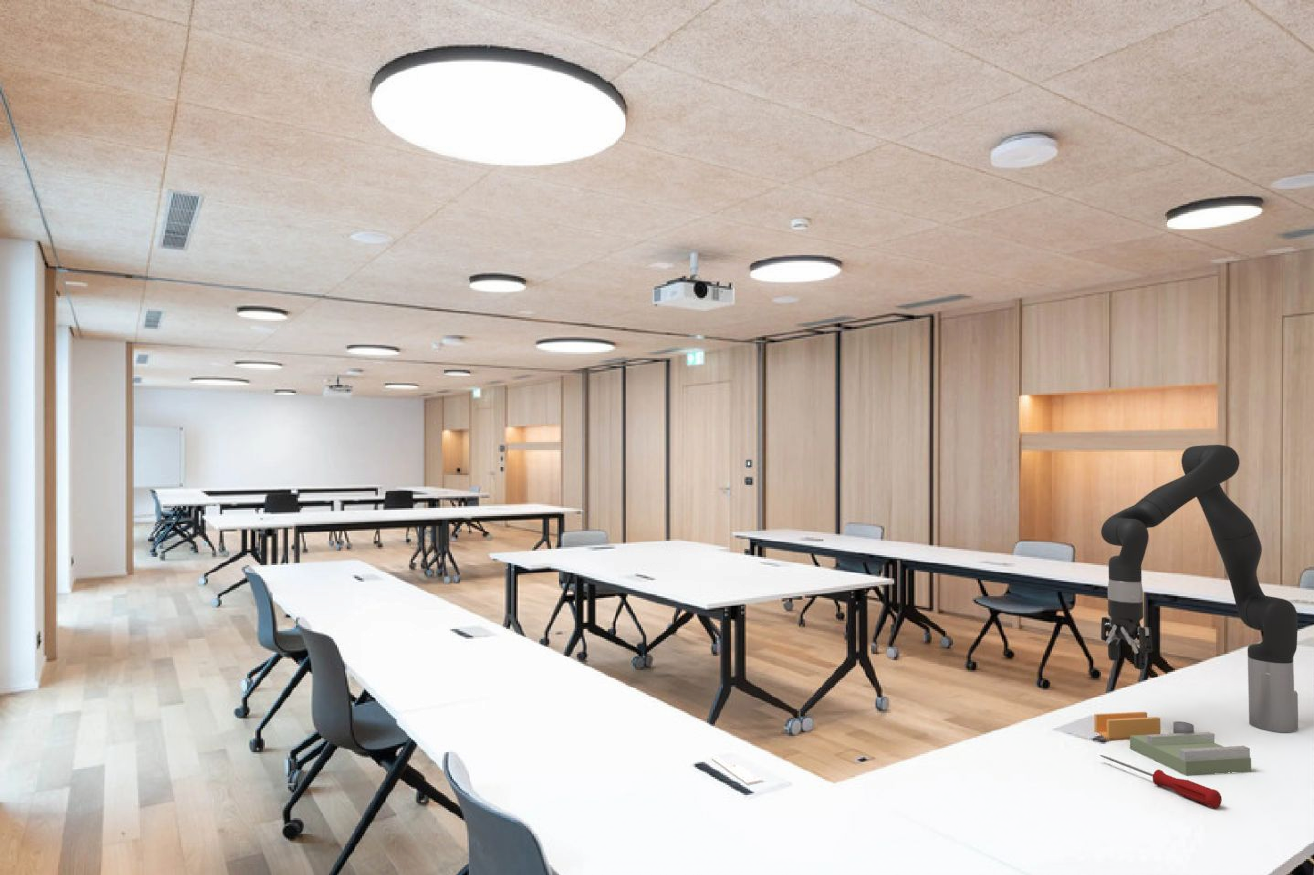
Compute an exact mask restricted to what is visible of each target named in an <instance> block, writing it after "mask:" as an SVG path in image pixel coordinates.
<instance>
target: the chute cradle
mask: <svg viewBox="0 0 1314 875" xmlns="http://www.w3.org/2000/svg"><path fill="white" fill-rule="evenodd" d="M1200 743H1215V733H1214V732H1210V731H1198V732H1197V731H1196V732H1195V731H1194V732H1193V733H1161V734H1152V735H1147V744H1149V745H1151V746H1161V745H1181V744H1200ZM1250 749H1251V748H1250V747H1247V746H1246V745H1235V746H1231V745H1230V746H1223V747H1211V748H1191V749H1179V759H1181V760H1184V761H1196V760H1214V759H1232V758H1251V750H1250Z"/></svg>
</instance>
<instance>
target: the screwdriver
mask: <svg viewBox="0 0 1314 875" xmlns="http://www.w3.org/2000/svg"><path fill="white" fill-rule="evenodd" d="M1099 756H1100V757H1102V758H1104V759H1105V760H1106V759H1107V760H1109V761H1111V762H1114V763H1117V764H1119V765H1121V766H1124V767H1127V768H1129V769H1132V770H1134V771H1137V772H1139V773H1142V774H1145V775H1147V776H1150V777H1152V782H1153V784H1154V785H1155V786H1158V787H1160V786H1164V787H1166V788H1168V789H1171V790H1174V791H1175V792H1177V793H1178V794H1179V795H1181V796H1182V797H1185V798H1187V799H1190V800H1193V801H1195V802H1198V803H1201V804H1202V805H1205V806H1208V807H1210V808H1211V809H1217V808H1219V807H1220V806H1221V805H1222V799H1223V798H1222V794H1221V793H1220V792H1219V791H1218V790H1216V789H1214V788H1213V789H1212V788H1210V787H1208V786H1204V785H1202V784H1200V783H1199V784H1198V783H1196V782H1194V781H1192V780H1189V779H1184V778H1183V779H1182V778H1176V777H1173V776H1171V775H1169V774H1166V773H1165V772H1164V771H1163V770H1161V769H1156V770H1155V771H1154V772H1153V773H1151V772H1148V771H1145V770H1143V769H1141V768H1138V767H1135V766H1133V765H1130V764H1127V763H1125V762H1122V761H1119V760H1117V759H1114V758H1112V757H1108V756H1106V755H1102V754H1100V755H1099Z"/></svg>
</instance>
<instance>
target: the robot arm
mask: <svg viewBox="0 0 1314 875" xmlns="http://www.w3.org/2000/svg"><path fill="white" fill-rule="evenodd" d="M1240 461H1241V460H1240V458H1239V454H1238V453H1237V451H1236V450H1235V449H1234V448H1232V447H1231V446H1229V445H1225V444H1224V445H1222V444H1207V445H1205V444H1204V445H1193V446H1189V447H1187V448H1186V449H1185V450H1184V451H1183V453H1182V455H1181V462H1180V463H1181V467H1182V470H1183V473H1184V475H1182V476H1181V477H1178V478H1176V479H1173V480H1172V481H1170V482H1166V483H1165V484H1162V485H1161V486H1158V487H1156V488H1155V489H1153V490H1152V491H1150V492H1149V493H1147V494H1146V495H1144V496H1143V498H1141V499H1140V500H1139V501H1137V502H1136V503H1135V504H1133V505H1132V506H1129V507H1126V508H1124V509H1123V510H1121V511H1119V512H1116V513H1115V514H1112V515H1111V516H1110V517H1108V518H1107V519H1106V520H1105V521H1104V522H1103V524H1102V527H1101V530H1100V533H1101V534H1100V535H1101V538H1102V539H1103V540H1104V541H1105V542H1106V543H1107V544H1110V545H1112V546H1119V547H1121V549H1120V551H1119V555H1113V556H1111V557H1110V558H1109V560H1108V583H1107V584H1108V585H1107V615H1108V616H1103V617H1101V622H1100V623H1101V625H1100V639H1101V640H1102V641H1104V642H1105V643H1106V645H1107V655H1108V659H1109V660H1110V661H1119V645H1118V644H1119V642H1120V641H1121V640H1124V641H1125V642H1127V643H1128V645H1129V646H1131V648H1132V650H1133V652H1134V653H1133V654H1134V655H1133V664H1134V665H1133V666H1134V669H1136V670H1144V669H1145V667H1146V654H1147V653H1153V651H1154V650H1153V636H1152V635H1153V632H1152V628H1151V627H1150V626H1145V627H1144V626H1142V625H1141V620H1143V619H1144V589H1143V588H1144V587H1143V583H1142V578H1143V577H1142V575H1143V574H1142V564H1143V562H1144V558H1145V554H1146V551H1147V547H1148V544H1149V540H1150V539H1149V530H1148V529H1149V528H1155V527H1157V526H1159V525H1160V524H1162V523H1163V522H1164V521H1165V520H1167V519H1168V518H1169V517H1170V516H1171V515H1173V514H1174V513H1175V512H1177V511H1178V510H1180V509H1181V508H1182V507H1183V506H1185V505H1186V504H1188V503H1189V502H1190V501H1192V500H1194V499H1195V498H1197V500H1198V502H1199V504H1200V505H1199V506H1200V508H1201V509H1202V512H1203V514H1204V517H1205V519H1206V521H1207V523H1208V524H1207V525H1208V526H1209V529H1210V532H1211V535H1212V538H1213V541H1214V543H1215V546H1216V549H1217V550H1218V552H1219V554H1220V555H1219V556H1220V557H1221V560H1222V563H1223V565H1224V569H1225V570H1226V574H1227V576H1228V580H1229V583H1230V586H1231V590H1232V596H1233V598H1234V602H1235V606H1236V610H1237V613H1238V616H1239V618H1240V620H1241V621H1242V623H1243V624H1244V626H1246V627H1248V628H1250V629H1253V630H1256V631H1261V632H1263V635H1262V640H1261V642H1259V643H1252V644H1250V645H1248V647H1247V678H1248V679H1247V683H1248V684H1247V685H1248V686H1247V687H1248V689H1247V690H1248V722H1249V725H1250V726H1253V727H1255V728H1257V729H1262V730H1265V731H1270V732H1276V733H1293V732H1296V730H1298V731H1299V705H1298V704H1299V698H1298V696H1299V694H1298V692H1297V691H1296V690H1295V674H1294V669H1295V668H1294V656H1295V653H1296V652H1297V648H1298V629H1299V628H1298V627H1299V617H1298V612H1297V609H1296V607H1295V605H1294V604H1293V603H1292V602H1291V601H1290V600H1288V599H1286V598H1285V599H1284V598H1280V597H1276V596H1270V595H1265V594H1264V592H1263V589H1262V587H1261V586H1260V582H1259V579H1258V575H1257V573H1258V572H1257V571H1258V566H1259V563H1260V561H1261V556H1262V552H1263V547H1262V543H1261V540H1260V538H1259V535H1258V532H1257V529H1256V526H1255V525H1254V523H1253V521H1252V519H1251V518H1250V517H1248V515H1247V514H1246V513H1245V512H1244V511H1243V510H1242V509H1241V508H1240V507H1239V506H1238V505H1237V504H1235V503H1234V502H1233V500H1232V499H1230V497H1229V496H1227V494H1226V493H1225V491H1224V490H1223V488H1222V486H1221V484H1222V483H1223V482H1226V481H1228V480H1229V479H1230V478H1232V477H1234V476H1235V475H1236V473H1237V472H1238V470H1239V467H1240Z"/></svg>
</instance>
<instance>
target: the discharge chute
mask: <svg viewBox="0 0 1314 875" xmlns="http://www.w3.org/2000/svg"><path fill="white" fill-rule="evenodd" d="M1093 723H1094V727H1093V728H1094V733H1095V732H1097V733H1099V734H1101V735H1102V736H1103V737H1104V738H1103V737H1102V738H1103V739H1105V738H1106V739H1105V740H1107V741H1109V742H1111V741H1124V740H1125V741H1126V740H1127V741H1130V736H1132V735H1152V734H1162V733H1161V729H1162V727H1161V717H1158V716H1157V717H1155V716H1154V717H1152V716H1151V717H1148V712H1146V711H1134V712H1133V711H1130V712H1109V713H1107V712H1106V713H1094V722H1093Z"/></svg>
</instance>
